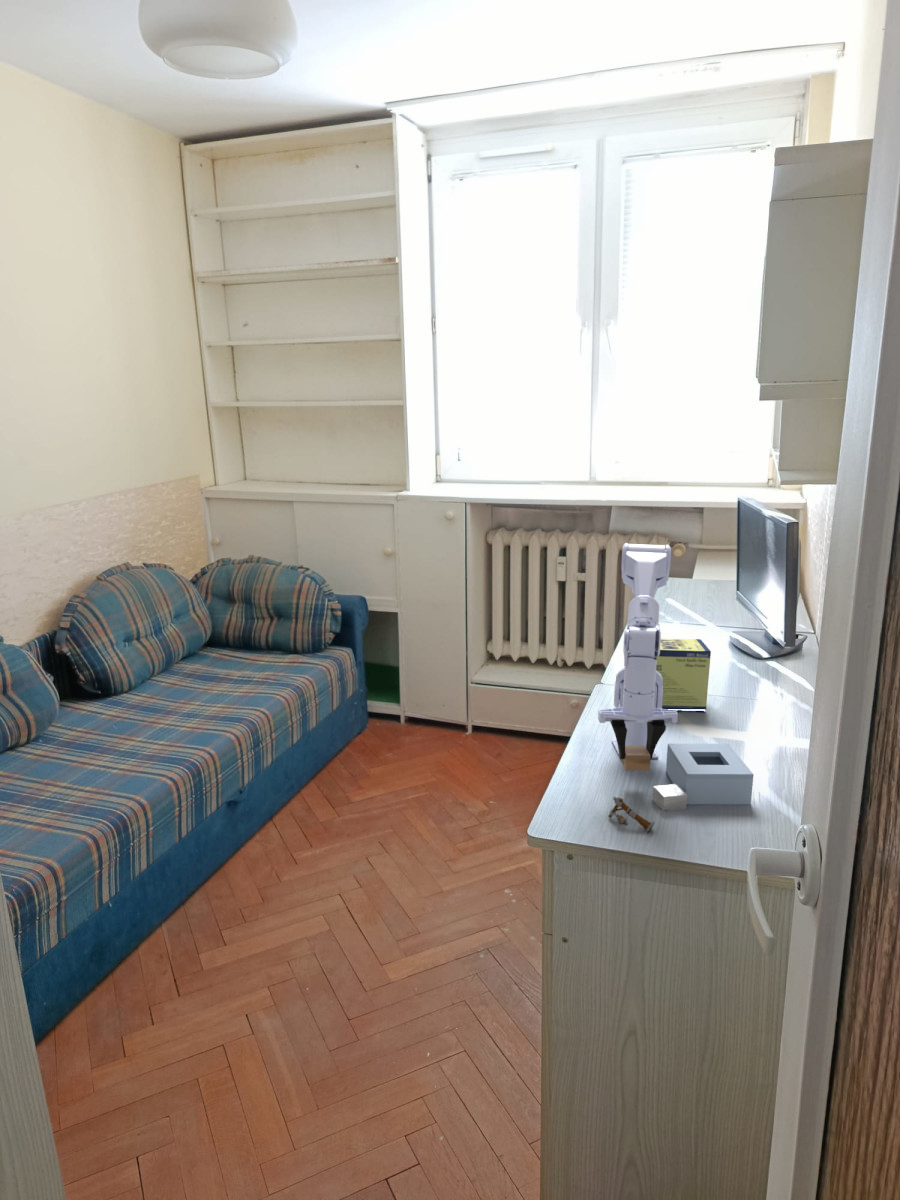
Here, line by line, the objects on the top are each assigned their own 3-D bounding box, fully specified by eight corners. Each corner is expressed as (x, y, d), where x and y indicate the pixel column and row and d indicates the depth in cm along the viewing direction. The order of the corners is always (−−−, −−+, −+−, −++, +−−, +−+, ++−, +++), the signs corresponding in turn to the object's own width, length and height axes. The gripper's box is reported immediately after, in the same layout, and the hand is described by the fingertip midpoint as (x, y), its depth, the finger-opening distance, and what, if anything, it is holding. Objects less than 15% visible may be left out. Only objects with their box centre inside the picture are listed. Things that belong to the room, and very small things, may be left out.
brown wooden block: (620, 760, 158) (621, 745, 157) (644, 760, 158) (644, 745, 157) (625, 770, 153) (626, 755, 153) (649, 770, 153) (650, 755, 153)
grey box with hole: (665, 771, 163) (667, 743, 162) (725, 771, 163) (728, 743, 162) (685, 804, 150) (687, 774, 148) (750, 804, 150) (753, 774, 148)
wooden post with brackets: (607, 810, 146) (617, 792, 144) (644, 840, 142) (655, 821, 140) (602, 814, 144) (613, 795, 142) (640, 844, 141) (651, 825, 139)
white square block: (652, 800, 151) (653, 786, 151) (674, 798, 152) (675, 783, 152) (663, 812, 147) (664, 797, 146) (686, 810, 148) (687, 794, 147)
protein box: (707, 712, 196) (712, 650, 192) (641, 711, 197) (645, 649, 193) (697, 698, 206) (701, 638, 202) (634, 696, 207) (638, 637, 203)
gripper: (604, 696, 148) (600, 765, 151) (684, 696, 148) (679, 766, 151) (597, 683, 155) (594, 750, 158) (673, 683, 155) (669, 750, 158)
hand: (635, 756), depth 155 cm, fingers closed on brown wooden block, 4 cm apart
